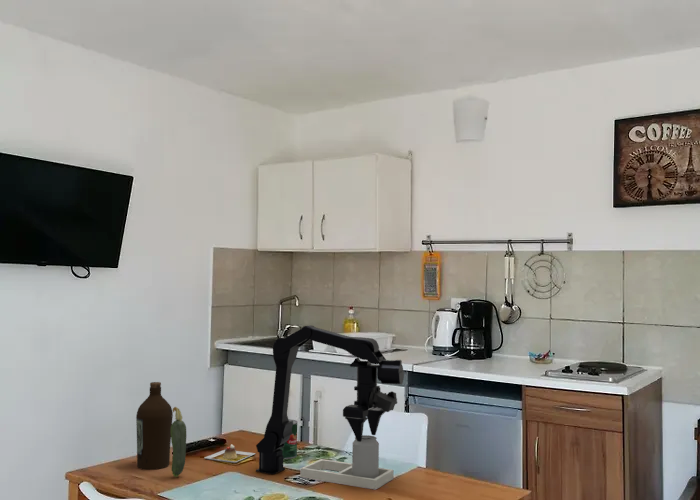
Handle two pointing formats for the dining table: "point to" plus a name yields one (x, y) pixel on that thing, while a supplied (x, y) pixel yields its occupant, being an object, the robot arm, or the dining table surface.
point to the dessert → (229, 454)
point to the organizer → (344, 474)
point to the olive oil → (154, 430)
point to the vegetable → (178, 443)
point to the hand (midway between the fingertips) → (366, 438)
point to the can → (365, 457)
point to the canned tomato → (291, 443)
